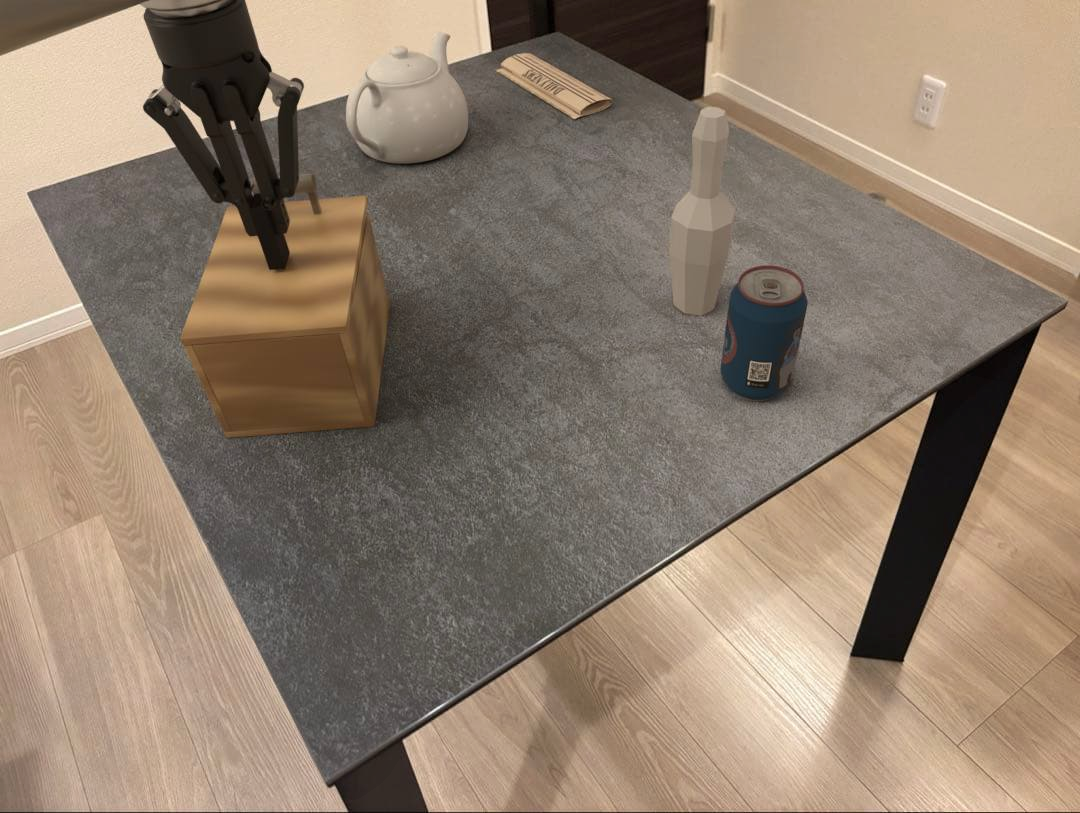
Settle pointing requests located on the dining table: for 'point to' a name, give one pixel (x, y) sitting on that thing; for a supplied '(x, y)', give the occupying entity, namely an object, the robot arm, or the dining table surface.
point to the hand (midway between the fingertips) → (279, 261)
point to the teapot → (408, 106)
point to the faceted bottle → (702, 221)
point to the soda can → (763, 332)
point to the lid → (281, 274)
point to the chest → (303, 368)
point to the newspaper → (553, 85)
